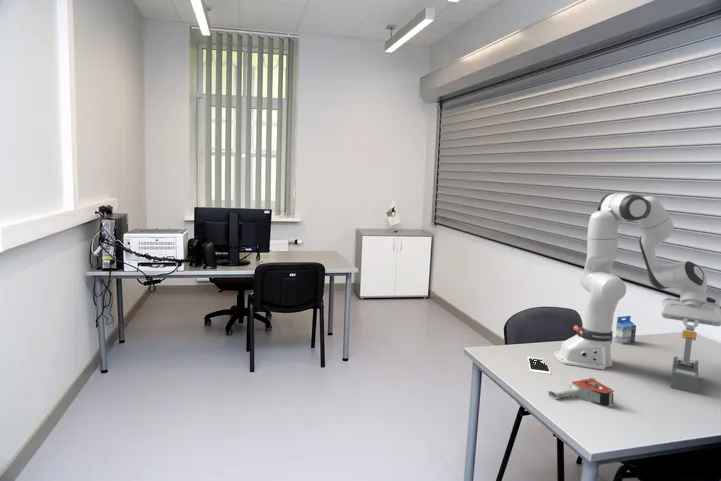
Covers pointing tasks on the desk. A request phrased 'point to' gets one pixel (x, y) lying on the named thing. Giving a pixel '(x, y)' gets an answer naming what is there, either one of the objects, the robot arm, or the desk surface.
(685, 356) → the lever
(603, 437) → the desk surface
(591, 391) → the tape dispenser
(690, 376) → the block
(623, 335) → the label tape box
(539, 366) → the cell phone
